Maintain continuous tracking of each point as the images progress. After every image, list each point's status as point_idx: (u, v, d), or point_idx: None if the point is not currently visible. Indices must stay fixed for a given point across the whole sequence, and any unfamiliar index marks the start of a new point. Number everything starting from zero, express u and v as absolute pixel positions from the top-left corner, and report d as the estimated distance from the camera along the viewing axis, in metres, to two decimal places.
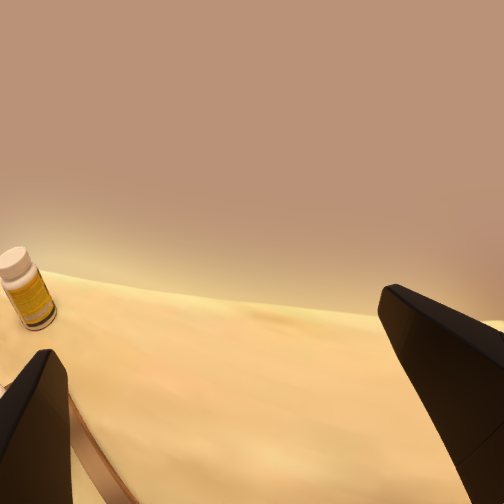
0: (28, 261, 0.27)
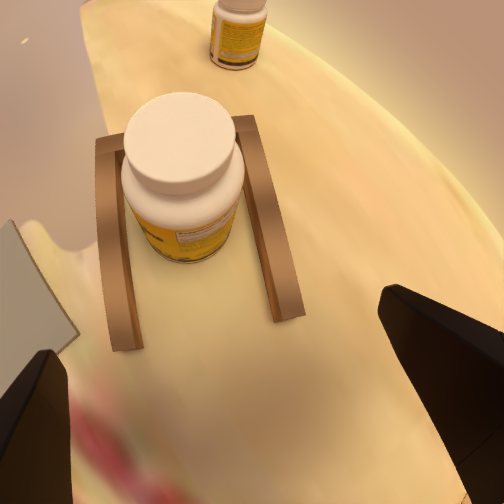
0: (265, 2, 0.21)
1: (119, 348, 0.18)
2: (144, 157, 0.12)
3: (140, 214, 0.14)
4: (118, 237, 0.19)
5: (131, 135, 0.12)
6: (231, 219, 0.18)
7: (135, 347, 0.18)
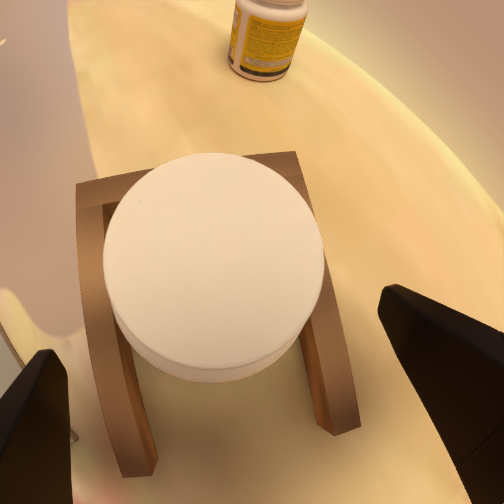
0: None
1: (130, 474, 0.12)
2: (148, 313, 0.06)
3: (147, 361, 0.08)
4: (115, 338, 0.13)
5: (117, 257, 0.06)
6: None
7: (151, 474, 0.12)
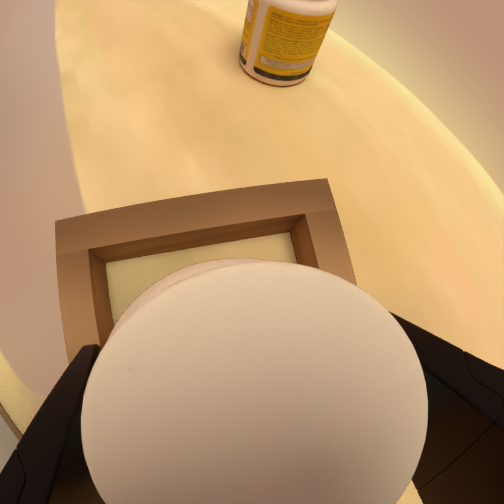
0: None
1: None
2: None
3: None
4: None
5: (107, 459, 0.03)
6: None
7: None
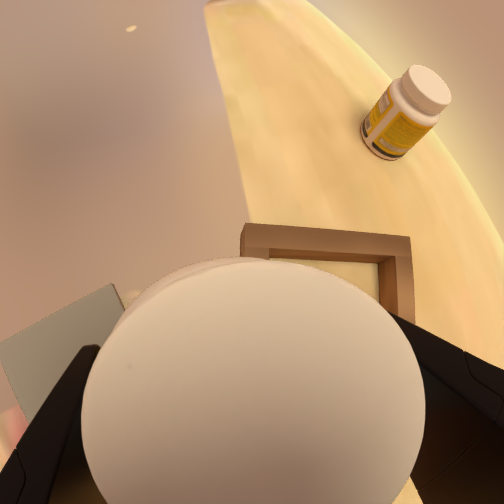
0: (445, 106, 0.19)
1: None
2: None
3: None
4: None
5: (107, 455, 0.03)
6: None
7: None
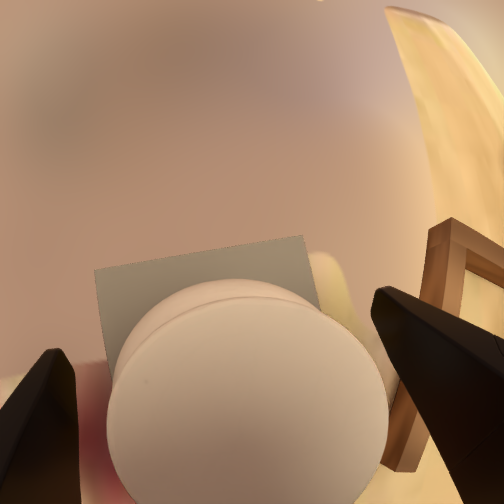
0: None
1: (402, 469, 0.13)
2: None
3: None
4: None
5: (128, 452, 0.04)
6: None
7: (414, 470, 0.13)
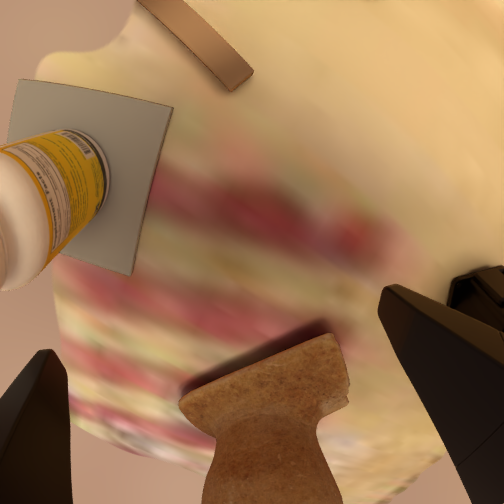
0: None
1: (235, 81, 0.14)
2: None
3: None
4: None
5: None
6: (64, 162, 0.12)
7: (252, 70, 0.14)
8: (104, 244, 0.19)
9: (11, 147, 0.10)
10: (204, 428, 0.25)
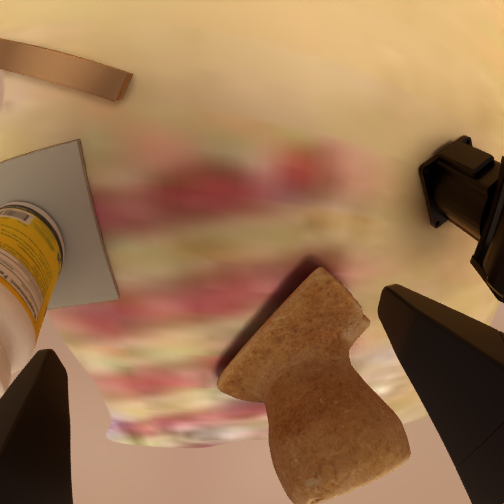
0: None
1: (115, 91, 0.13)
2: None
3: None
4: (11, 42, 0.10)
5: None
6: (9, 241, 0.12)
7: (125, 73, 0.13)
8: (83, 283, 0.20)
9: None
10: (251, 398, 0.28)
